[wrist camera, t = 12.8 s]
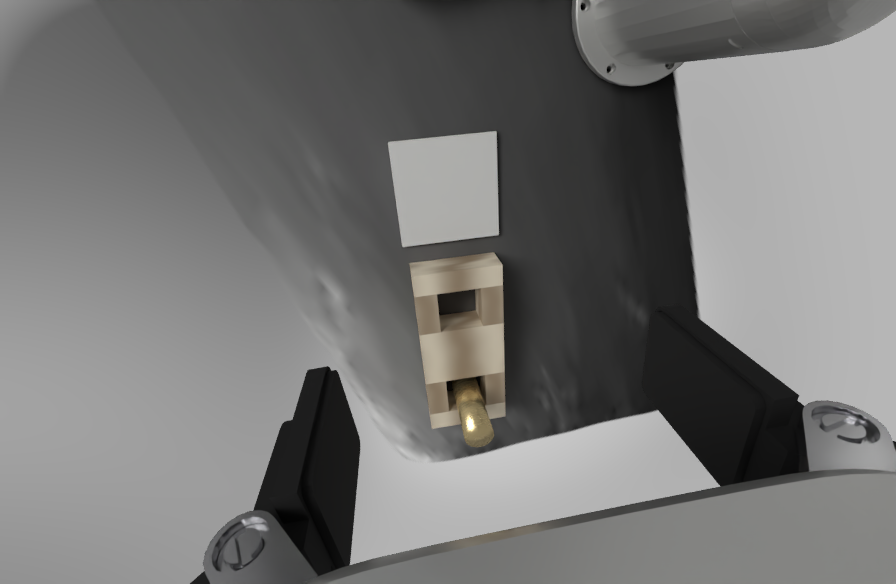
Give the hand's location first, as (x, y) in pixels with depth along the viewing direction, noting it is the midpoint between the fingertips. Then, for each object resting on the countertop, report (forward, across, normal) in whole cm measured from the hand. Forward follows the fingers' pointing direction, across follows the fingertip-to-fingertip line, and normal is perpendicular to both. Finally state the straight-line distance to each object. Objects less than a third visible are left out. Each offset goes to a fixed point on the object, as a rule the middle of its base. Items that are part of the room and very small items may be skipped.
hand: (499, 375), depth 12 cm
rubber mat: (+30, -2, +2) cm, 30 cm away
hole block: (+30, -1, +19) cm, 35 cm away
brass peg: (+29, -1, +24) cm, 38 cm away
